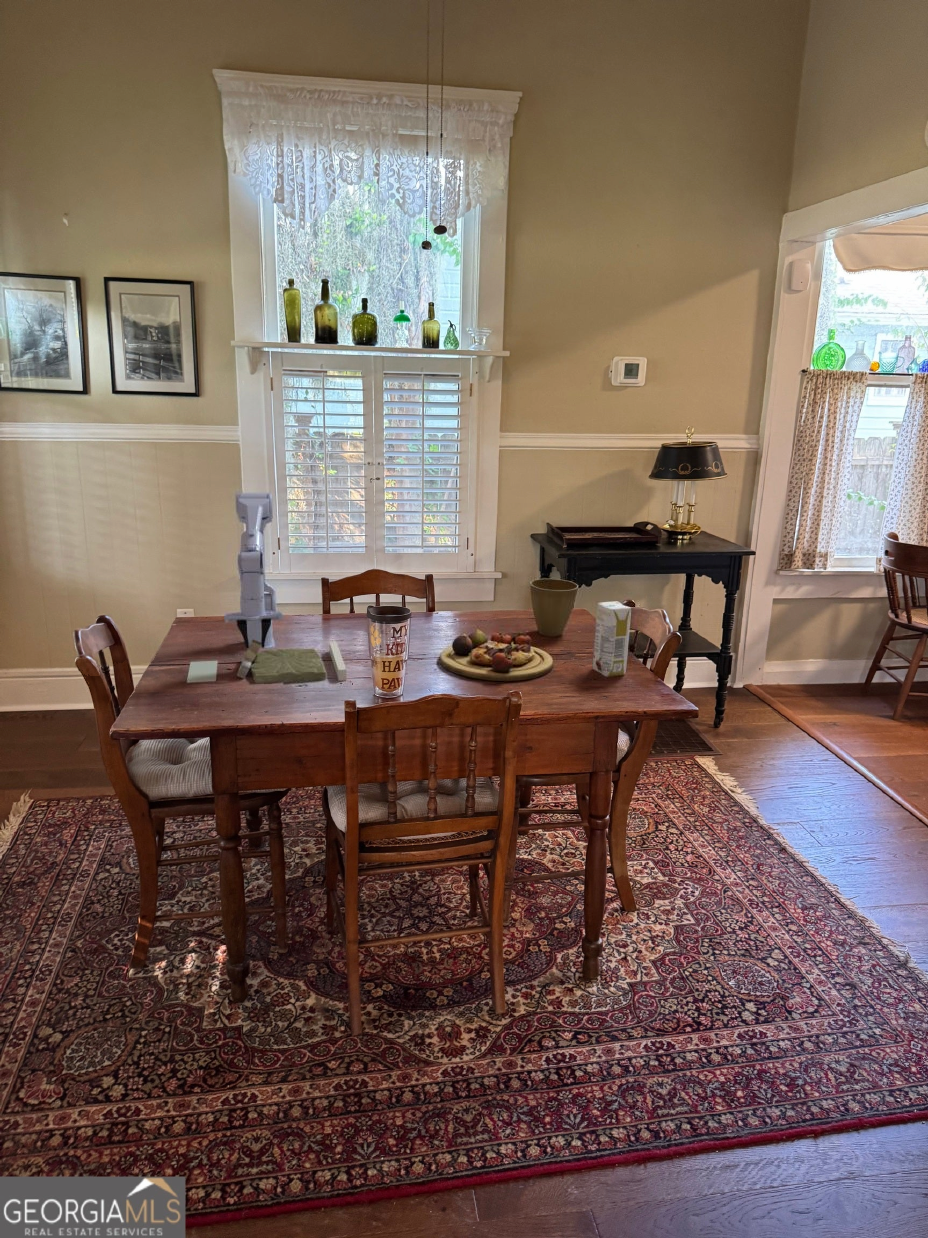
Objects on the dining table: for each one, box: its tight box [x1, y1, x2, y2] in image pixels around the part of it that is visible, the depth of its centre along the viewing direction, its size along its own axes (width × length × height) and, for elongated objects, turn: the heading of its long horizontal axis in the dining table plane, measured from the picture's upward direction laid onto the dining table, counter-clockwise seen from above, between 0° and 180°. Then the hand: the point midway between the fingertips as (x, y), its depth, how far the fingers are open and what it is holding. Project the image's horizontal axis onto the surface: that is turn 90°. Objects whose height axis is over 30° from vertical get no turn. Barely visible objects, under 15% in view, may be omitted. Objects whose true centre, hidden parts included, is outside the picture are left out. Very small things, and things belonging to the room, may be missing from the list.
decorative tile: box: [250, 647, 327, 684], centre depth 216 cm, size 19×20×4 cm
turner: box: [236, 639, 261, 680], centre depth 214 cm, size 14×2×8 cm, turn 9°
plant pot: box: [529, 578, 579, 637], centre depth 254 cm, size 15×15×16 cm
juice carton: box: [592, 600, 632, 677], centre depth 220 cm, size 8×9×19 cm
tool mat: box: [186, 660, 218, 684], centre depth 212 cm, size 16×7×1 cm, turn 15°
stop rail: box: [328, 641, 347, 682], centre depth 221 cm, size 24×2×3 cm, turn 15°
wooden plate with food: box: [439, 628, 555, 682], centre depth 226 cm, size 32×32×8 cm
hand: (255, 647), depth 214 cm, fingers closed on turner, 3 cm apart
